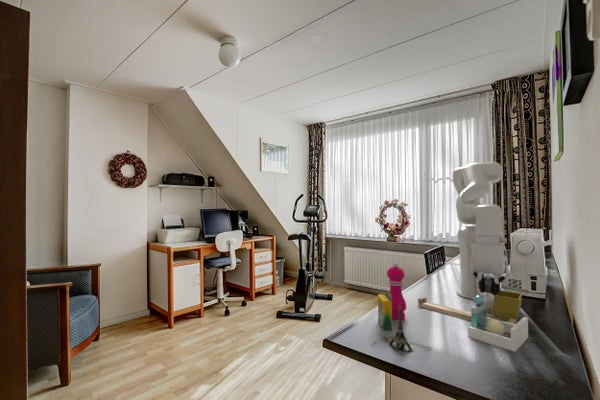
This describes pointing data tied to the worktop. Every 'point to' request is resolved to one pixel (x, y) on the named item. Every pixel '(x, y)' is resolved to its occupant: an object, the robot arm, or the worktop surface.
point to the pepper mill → (396, 291)
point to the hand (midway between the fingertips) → (489, 292)
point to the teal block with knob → (484, 305)
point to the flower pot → (507, 305)
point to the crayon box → (385, 311)
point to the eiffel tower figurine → (401, 340)
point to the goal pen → (517, 336)
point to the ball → (495, 327)
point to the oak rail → (448, 310)
